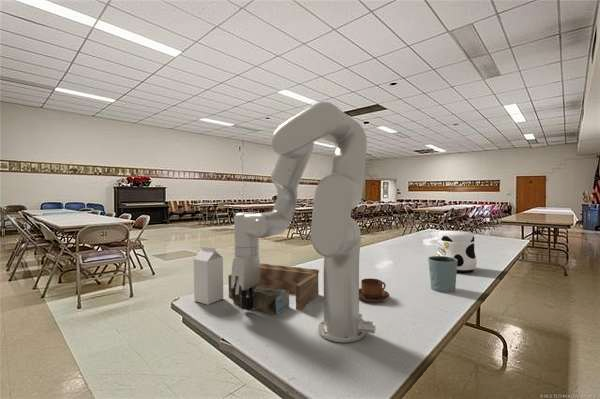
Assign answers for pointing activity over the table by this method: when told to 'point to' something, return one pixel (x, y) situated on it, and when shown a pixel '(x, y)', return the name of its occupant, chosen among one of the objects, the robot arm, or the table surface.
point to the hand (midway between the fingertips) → (247, 308)
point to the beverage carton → (267, 299)
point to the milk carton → (208, 276)
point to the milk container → (458, 248)
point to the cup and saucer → (372, 290)
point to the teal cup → (443, 273)
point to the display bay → (289, 281)
